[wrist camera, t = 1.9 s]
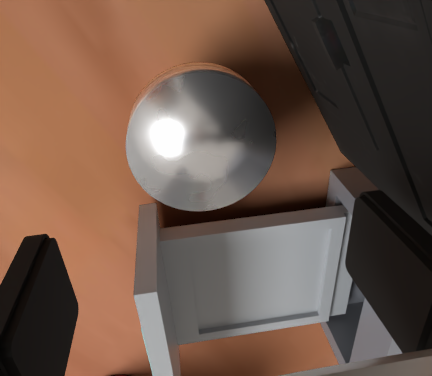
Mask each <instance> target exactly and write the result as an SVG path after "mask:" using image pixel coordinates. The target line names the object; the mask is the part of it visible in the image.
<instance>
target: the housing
mask: <svg viewBox="0 0 432 376" xmlns="http://www.w3.org/2000/svg"><path fill="white" fill-rule="evenodd" d="M374 190H379V189H378V188H377V187H376V186H375V185H374V184H373V183H372V182H371V181H370V180H369V179H368V178H367V177H366V176H365V175H364V174H363V173H362V172H361V171H360V170H359V169H358V168H357V167H352V168H343V169H335V170H331V171H330V178H329V186H328V193H327V201H326V207H332V206H339V205H344V206H345V208H346V209H347V210H348V211H349V213H350V214H351V215H352V214H353V208H354V202H355V199H356V198H357V197H359V195H360V194H361V193H362V192H366V191H374ZM320 324H321V326H322V328H323V330H324V332H325V335H326V337H327V339H328V341H329V343H330V345H331V348H332V350H333V352H334V354H335V356H336V358H337V361H338V363H339V365H340V364H346V363H352V362H357V361H363V360H369V359H374V358H380V357H385V356H391V355H397V354H402V352H401V350H400V349H399V347H398V346H397V344H396V343H395V341H394V340H393V338H392V337H391V335H390V334H389V332H388V331H387V329H386V328H385V326H384V325H383V323H382V322H381V321H380V319H379V318H378V316H377V315H376V313H375V312H374V310H373V309H372V307H371V306H370V304H369V303H368V301H367V300H366V298H365V297H364V295H363V294H362V292H361V291H360V290H359V288H358V287H357V285H356V284H355V282H354V281H353V279H352V284H351V289H350V294H349V299H348V304H347V308H346V313H345V314H340V315H334V316H329V321H326V322H320Z"/></svg>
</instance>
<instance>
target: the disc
mask: <svg viewBox="0 0 432 376" xmlns="http://www.w3.org/2000/svg"><path fill="white" fill-rule="evenodd" d="M275 149H276V129H275V124H274V120H273V117H272V115H271V113H270V111H269V109H268V107H267V105H266V104H265V102H264V101H263V99H262V98H261V97H260V96H259V94H258V93H257V92H256V91H255V89H254V88H253V87H252V86H251V85H250V84H249V83H248V81H247V80H246V79H244V78H243V77H242V76H241V75H239V74H238V73H236V72H234V71H233V70H231V69H229V68H226V67H224V66H221V65H217V64H213V63H206V62H192V63H185V64H181V65H178V66H174V67H172V68H170V69H167V70H165V71H163V72H162V73H160V74H159V75H157V76H156V77H154V78H153V79H152V80H151V81H150V82H149V83H148V84H147V85H146V86H145V87H144V88H143V89H142V91H141V92H140V94H139V95H138V96H137V98H136V100H135V102H134V104H133V107H132V110H131V113H130V118H129V124H128V130H127V136H126V154H127V160H128V163H129V167H130V169H131V171H132V173H133V175H134V177H135V179H136V180H137V182H138V183H139V184H140V186H141V187H142V188H143V189H144V190H145V191H146V192H147V193H148V194H149V195H151V196H152V197H153V198H155V199H156V200H158V201H160V202H162V203H163V204H165V205H168V206H171V207H173V208H177V209H181V210H187V211H209V210H215V209H219V208H222V207H225V206H228V205H230V204H233V203H235V202H237V201H238V200H240V199H242V198H243V197H245V196H246V195H248V194H249V193H250V192H251V191H252V190H253V189H255V188H256V186H257V185H258V184H259V183H260V182H261V181H262V179H263V178H264V177H265V175H266V174H267V172H268V170H269V168H270V166H271V163H272V161H273V158H274V154H275Z"/></svg>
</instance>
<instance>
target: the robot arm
mask: <svg viewBox="0 0 432 376" xmlns="http://www.w3.org/2000/svg"><path fill="white" fill-rule="evenodd" d="M345 266H346V269H347V272H348V273H349V275H350V276H351V278H352V279H353V281H354V282H355V284H356V285H357V287H358V288H359V290H360V291H361V292H362V294H363V295H364V297H365V298H366V300H367V301H368V303H369V304H370V306H371V307H372V309H373V310H374V312H375V313H376V315H377V316H378V318H379V319H380V321H381V322H382V323H383V325H384V326H385V328H386V329H387V331H388V332H389V334H390V335H391V337H392V338H393V340H394V341H395V343H396V344H397V346H398V347H399V349H400V350H401V352H402V354H397V355H391V356H385V357H380V358H374V359H369V360H363V361H357V362H352V363H346V364H340V365H335V366H329V367H324V368H318V369H312V370H307V371H301V372H296V373H291V374H285V375H280V376H432V235H431V234H429V233H428V232H427V231H426V230H425V229H424V228H423V227H422V226H421V225H419V224H418V223H417V222H416V221H415V220H414V219H413V218H412V217H411V216H409V215H408V214H407V213H406V212H405V211H404V210H403V209H402V208H401V207H400V206H398V205H397V204H396V203H395V202H394V201H393V200H392V199H391V198H390V197H388V196H387V195H386V194H385V193H384V192H383V191H381V190H374V191H366V192H362V193H361V194H360V195H359V197H357V198H356V199H355V202H354V208H353V214H352V220H351V227H350V233H349V240H348V246H347V252H346V259H345ZM77 317H78V302H77V299H76V296H75V293H74V290H73V287H72V285H71V282H70V279H69V276H68V273H67V270H66V267H65V264H64V261H63V259H62V256H61V253H60V250H59V247H58V244H57V241H56V239H55V238H49V236H48V235H47V234H42V235H34V236H27V237H25V238H24V239H23V241H22V243H21V245H20V247H19V249H18V251H17V253H16V255H15V257H14V259H13V261H12V263H11V265H10V267H9V269H8V271H7V273H6V275H5V277H4V279H3V281H2V283H1V285H0V376H65V371H66V367H67V362H68V357H69V353H70V348H71V344H72V339H73V335H74V330H75V326H76V321H77Z"/></svg>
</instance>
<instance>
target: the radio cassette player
mask: <svg viewBox="0 0 432 376" xmlns="http://www.w3.org/2000/svg"><path fill="white" fill-rule="evenodd" d="M265 2H266V4H267V6H268V8H269V10H270V12H271V14H272V16H273V18H274V20H275V22H276V24H277V26H278V28H279V30H280V32H281V34H282V36H283V38H284V40H285V42H286V44H287V46H288V48H289V50H290V52H291V54H292V56H293V58H294V60H295V62H296V64H297V66H298V68H299V70H300V72H301V74H302V76H303V78H304V80H305V82H306V84H307V86H308V88H309V90H310V92H311V94H312V96H313V98H314V100H315V102H316V103H317V105H318V107H319V109H320V111H321V113H322V115H323V117H324V119H325V121H326V123H327V125H328V127H329V129H330V131H331V133H332V135H333V137H334V139H335V141H336V143H337V145H338V147H339V149H340V151H341V153H342V154H343V155H344V156H345V157H346V158H347V159H348V160H349V161H350V162H352V163H353V164H354V165H355V166H356V167H357V168H358V169H359V170H360V171H361V172H362V173H363V174H364V175H365V176H366V177H367V178H368V179H369V180H370V181H371V182H372V183H373V184H374V185H375V186H376V187H377V188H378V189H379V190H381V191H383V192H384V193H385V194H386V195H387V196H388V197H390V198H391V199H392V200H393V201H394V202H395V203H396V204H397V205H398V206H400V207H401V208H402V209H403V210H404V211H405V212H406V213H407V214H408V215H409V216H411V217H412V218H413V219H414V220H415V221H416V222H417V223H418V224H419V225H421V226H422V227H423V228H424V229H425V230H426V231H427V232H428V233H429V234H431V235H432V0H265Z"/></svg>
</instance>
